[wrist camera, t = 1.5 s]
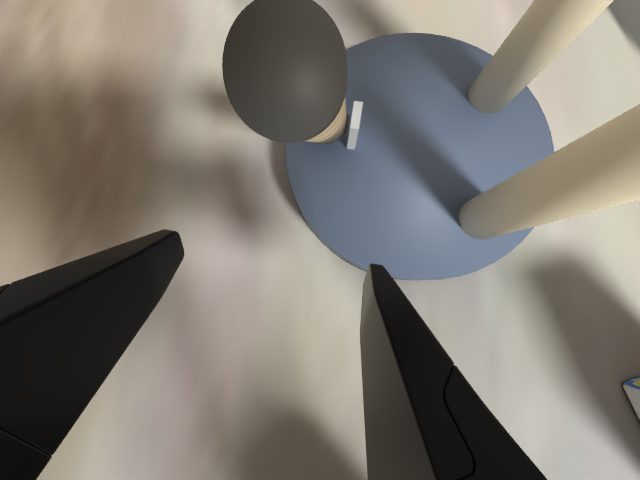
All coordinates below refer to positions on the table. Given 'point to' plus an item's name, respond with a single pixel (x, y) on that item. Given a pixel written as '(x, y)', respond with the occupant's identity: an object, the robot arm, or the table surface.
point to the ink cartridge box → (633, 393)
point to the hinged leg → (287, 71)
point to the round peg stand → (457, 151)
